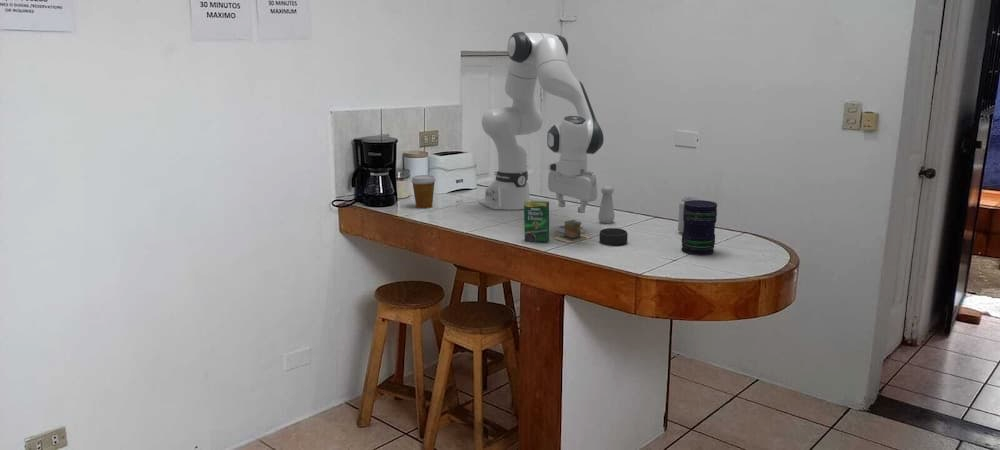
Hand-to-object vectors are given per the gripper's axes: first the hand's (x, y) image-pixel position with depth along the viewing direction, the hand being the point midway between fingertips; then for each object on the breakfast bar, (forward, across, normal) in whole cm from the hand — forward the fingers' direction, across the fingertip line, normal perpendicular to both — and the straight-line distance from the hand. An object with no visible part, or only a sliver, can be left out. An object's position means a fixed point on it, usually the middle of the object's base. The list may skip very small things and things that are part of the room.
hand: (571, 209), depth 231 cm
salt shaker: (+10, +9, -25) cm, 28 cm away
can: (+9, -19, -36) cm, 42 cm away
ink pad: (+10, +6, -6) cm, 13 cm away
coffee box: (+10, +4, +11) cm, 15 cm away
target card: (+10, -1, 0) cm, 10 cm away
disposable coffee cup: (+12, +71, +13) cm, 74 cm away
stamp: (+9, -1, 0) cm, 9 cm away
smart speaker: (+10, -12, -7) cm, 17 cm away
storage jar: (+9, -35, -20) cm, 42 cm away
